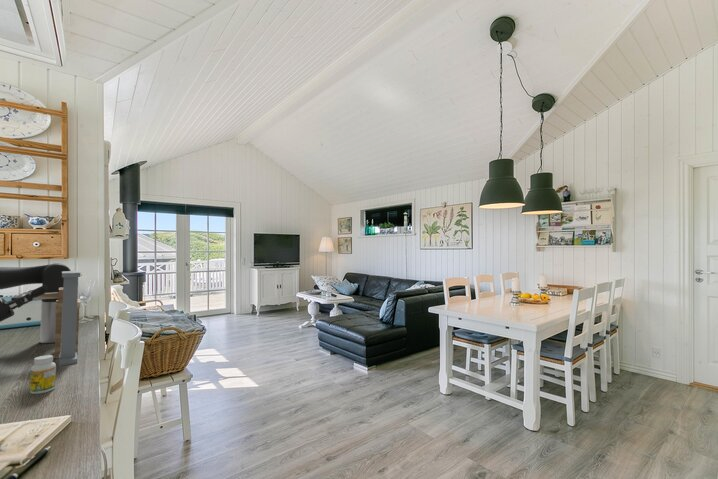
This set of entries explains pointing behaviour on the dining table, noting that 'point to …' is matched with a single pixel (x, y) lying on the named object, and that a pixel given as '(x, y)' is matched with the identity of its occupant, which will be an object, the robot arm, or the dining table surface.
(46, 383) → the supplement bottle
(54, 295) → the mallet
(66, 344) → the stand
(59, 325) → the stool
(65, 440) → the dining table surface
